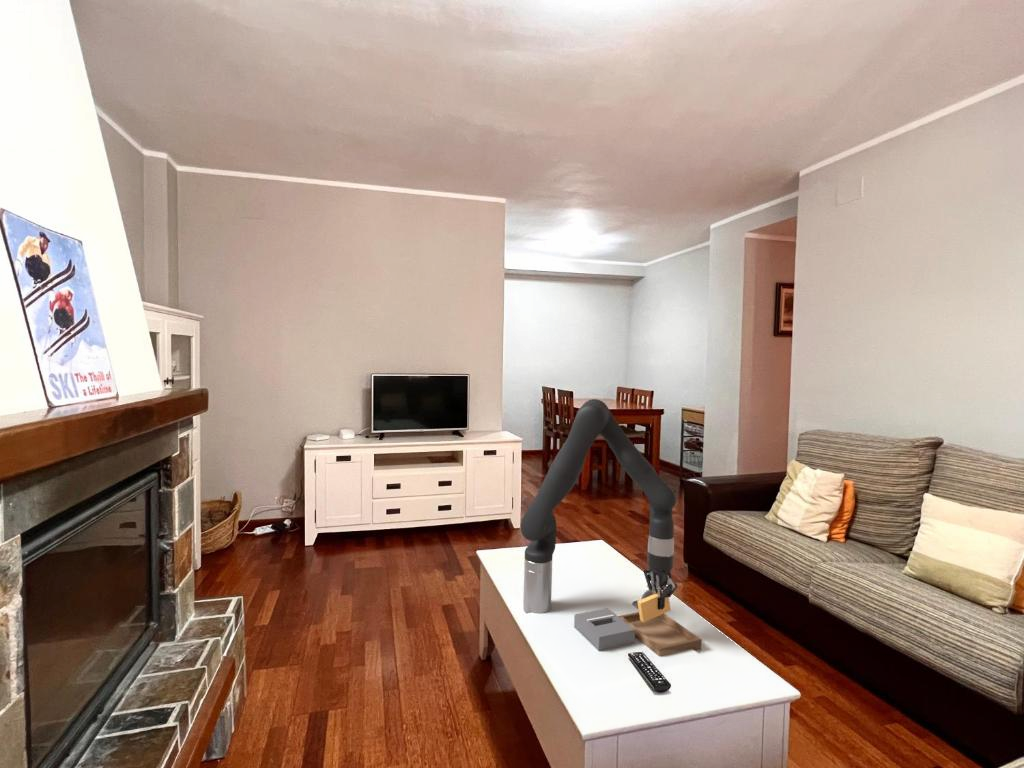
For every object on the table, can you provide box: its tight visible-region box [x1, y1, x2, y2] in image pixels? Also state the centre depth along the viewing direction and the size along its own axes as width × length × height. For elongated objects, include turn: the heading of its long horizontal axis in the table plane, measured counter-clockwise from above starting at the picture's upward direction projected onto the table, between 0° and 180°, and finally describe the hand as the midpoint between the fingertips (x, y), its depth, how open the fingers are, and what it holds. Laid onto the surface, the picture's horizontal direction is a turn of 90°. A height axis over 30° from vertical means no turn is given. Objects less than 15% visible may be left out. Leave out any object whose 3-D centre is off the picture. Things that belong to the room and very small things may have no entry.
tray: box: [617, 611, 703, 657], centre depth 153 cm, size 20×15×3 cm
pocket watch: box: [631, 584, 653, 610], centre depth 170 cm, size 8×8×10 cm
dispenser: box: [573, 607, 636, 652], centre depth 151 cm, size 14×12×5 cm
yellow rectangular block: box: [636, 590, 671, 623], centre depth 152 cm, size 2×6×10 cm
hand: (658, 607), depth 153 cm, fingers closed on yellow rectangular block, 1 cm apart
